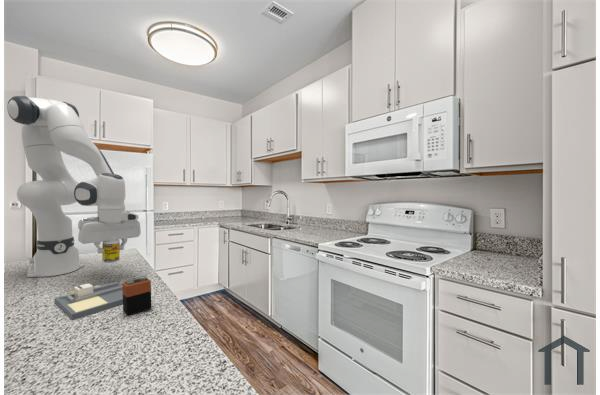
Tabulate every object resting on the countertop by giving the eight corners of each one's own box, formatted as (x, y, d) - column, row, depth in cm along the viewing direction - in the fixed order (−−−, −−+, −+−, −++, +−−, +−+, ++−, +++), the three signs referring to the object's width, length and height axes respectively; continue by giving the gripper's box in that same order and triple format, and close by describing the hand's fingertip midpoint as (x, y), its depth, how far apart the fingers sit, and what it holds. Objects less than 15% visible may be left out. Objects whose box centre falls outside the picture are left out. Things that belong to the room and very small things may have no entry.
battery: (151, 308, 88) (151, 277, 87) (127, 316, 83) (126, 283, 82) (146, 304, 91) (146, 273, 90) (122, 311, 86) (121, 279, 85)
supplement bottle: (102, 264, 106) (102, 237, 105) (102, 260, 110) (102, 234, 110) (119, 262, 109) (120, 236, 108) (119, 258, 113) (119, 233, 113)
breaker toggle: (74, 297, 91) (73, 286, 91) (89, 293, 95) (88, 282, 94) (78, 300, 89) (77, 289, 89) (93, 296, 92) (93, 285, 92)
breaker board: (54, 302, 91) (54, 294, 91) (117, 286, 105) (117, 278, 105) (72, 319, 80) (72, 310, 80) (139, 298, 95) (139, 290, 94)
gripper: (81, 219, 98) (81, 258, 99) (142, 215, 115) (142, 248, 116) (75, 217, 102) (75, 254, 103) (135, 213, 118) (135, 245, 119)
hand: (111, 251), depth 109 cm, fingers closed on supplement bottle, 6 cm apart
